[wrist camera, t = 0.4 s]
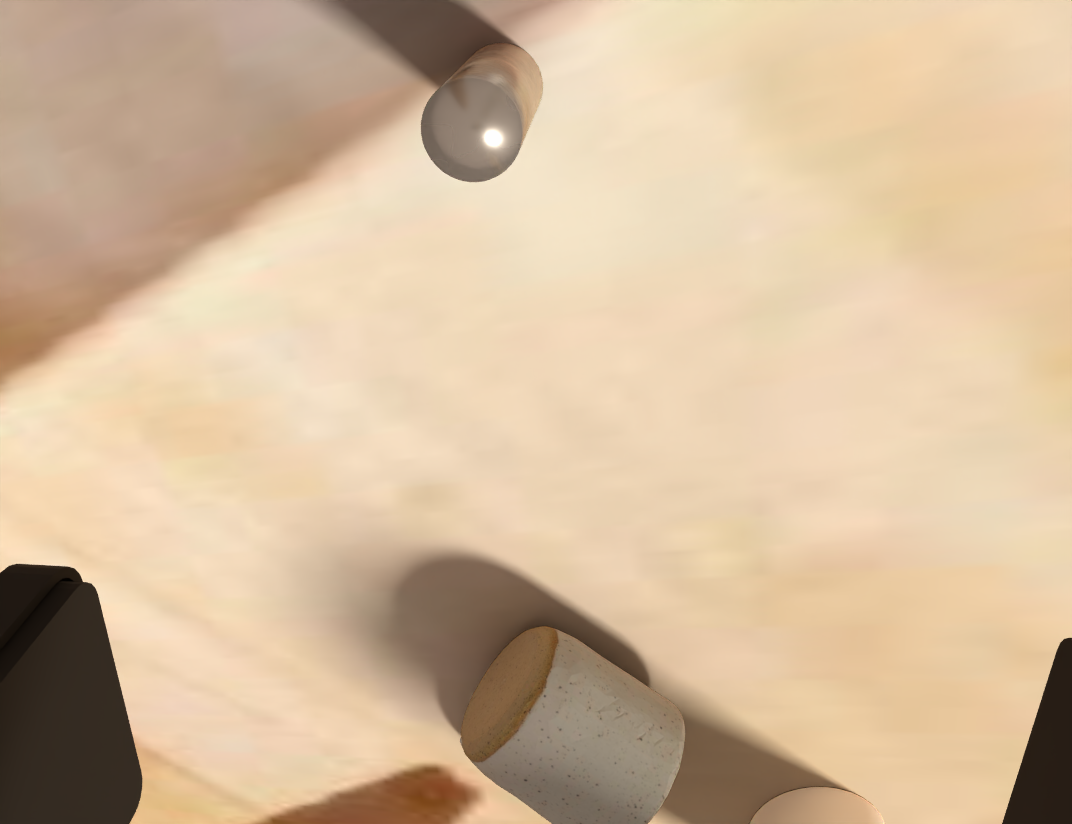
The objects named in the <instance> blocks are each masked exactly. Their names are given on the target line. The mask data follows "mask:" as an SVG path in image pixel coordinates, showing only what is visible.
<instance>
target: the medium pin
mask: <svg viewBox="0 0 1072 824" xmlns="http://www.w3.org/2000/svg"><path fill="white" fill-rule="evenodd" d="M542 92H543V81H542V76H541V72H540V70H539V67H538V65H537V64H536V62H535V61H534V59H533V58H532V57H531V56H530V55H529V54H528V53H527V52H526V51H524V50H523V49H521V48H520V47H517V46H515V45H512V44H508V43H494V44H490V45H487V46H485V47H482V48H481V49H479V50H478V51H477V52H475V53H474V54H473V55H472V56H471V57H470V58H469V59H468V60H467V61H466V62H465V63H464V64H463V65H462V66H461V67H460V68H459V69H458V70H457V71H456V72H455V73H454V74H453V75H452V76H451V77H450V78H449V79H448V80H447V81H446V82H445V83H444V84H443V85H442V86H441V87H440V88H439V89H438V90H437V91H436V92H435V93H434V94H433V95H432V96H431V98H430V99H429V101H428V102H427V104H426V106H425V109H424V112H423V115H422V120H421V135H422V140H423V144H424V147H425V149H426V151H427V153H428V155H429V157H430V158H431V160H432V161H433V162H434V164H435V165H436V166H437V167H438V168H439V169H440V170H442V171H443V172H444V173H446V174H448V175H449V176H451V177H453V178H456V179H458V180H462V181H467V182H481V181H486V180H490V179H492V178H494V177H496V176H498V175H500V174H501V173H503V172H504V171H505V170H506V169H507V168H508V167H509V166H510V165H511V164H512V163H513V161H514V160H515V158H516V156H517V154H518V152H519V150H520V148H521V145H522V143H523V141H524V138H525V136H526V134H527V131H528V129H529V127H530V125H531V122H532V120H533V118H534V115H535V113H536V111H537V108H538V106H539V104H540V101H541V98H542Z"/></svg>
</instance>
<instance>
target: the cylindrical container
mask: <svg viewBox="0 0 1072 824" xmlns="http://www.w3.org/2000/svg"><path fill="white" fill-rule="evenodd" d="M750 824H885V822H884V820H883V818H882V816H881V814H880V813H879V811H878V810H877V809H876V808H875V807H874V806H873V805H872V804H871V803H869V802H868V801H867V800H865V799H864V798H862V797H860V796H858V795H856V794H854V793H852V792H848V791H845V790H841V789H836V788H829V787H809V788H802V789H797V790H793V791H789V792H786V793H784V794H781V795H779V796H777V797H775V798H773V799H772V800H770V801H769V802H767V803H766V804H764V805H763V806H762V807H761V808H760V809H759V810H758V811H757V812H756V813H755V815H754V817H753V818H752V820H751V822H750Z"/></svg>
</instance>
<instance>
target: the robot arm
mask: <svg viewBox="0 0 1072 824" xmlns="http://www.w3.org/2000/svg"><path fill="white" fill-rule="evenodd" d="M141 791H142V773H141V768H140V764H139V760H138V756H137V752H136V748H135V744H134V740H133V736H132V732H131V728H130V724H129V720H128V715H127V711H126V707H125V703H124V699H123V695H122V691H121V687H120V683H119V679H118V675H117V671H116V667H115V662H114V658H113V654H112V650H111V646H110V642H109V638H108V634H107V630H106V626H105V622H104V618H103V614H102V609H101V605H100V601H99V597H98V594H97V591H96V589H95V587H94V586H93V585H92V584H90V583H87V582H83V581H82V578H81V576H80V574H79V573H78V572H77V571H76V570H75V569H74V568H71V567H65V566H47V565H29V564H15V565H11V566H8V567H7V568H6V569H5V570H3V571H2V572H1V573H0V824H129V823H130V821H131V820H132V818H133V816H134V814H135V812H136V809H137V807H138V804H139V801H140V797H141ZM1002 824H1072V638H1066V639H1064V640H1063V641H1062V642H1061V643H1060V645H1059V647H1058V649H1057V652H1056V655H1055V658H1054V662H1053V665H1052V668H1051V671H1050V674H1049V677H1048V681H1047V684H1046V687H1045V690H1044V693H1043V696H1042V700H1041V703H1040V706H1039V709H1038V712H1037V715H1036V718H1035V722H1034V725H1033V728H1032V731H1031V734H1030V737H1029V741H1028V744H1027V747H1026V750H1025V753H1024V756H1023V760H1022V763H1021V766H1020V769H1019V772H1018V775H1017V779H1016V782H1015V785H1014V788H1013V791H1012V794H1011V797H1010V801H1009V804H1008V807H1007V810H1006V813H1005V816H1004V820H1003V823H1002Z"/></svg>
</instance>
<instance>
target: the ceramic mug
mask: <svg viewBox="0 0 1072 824" xmlns="http://www.w3.org/2000/svg"><path fill="white" fill-rule="evenodd" d="M460 742H461V745H462V748H463V750H464V752H465V754H466V756H467V757H468V758H469V759H470V760H471V762H472V763H473V764H474V765H475V766H476V767H477V768H478V769H479V770H480V771H481V772H482V773H483V774H484V775H485V776H487V777H488V778H489V779H491V780H492V781H493V782H494V783H496V784H497V785H498V786H500V787H501V788H503V789H505V790H506V791H508V792H509V793H511V794H512V795H514V796H515V797H517V798H518V799H520V800H521V801H522V802H524V803H525V804H526V805H528V806H529V807H530V808H532V809H533V810H534V811H536V812H537V813H538V814H540V815H541V816H542V817H544V818H545V819H546V820H548V821H549V822H551V823H552V824H648V823H649V822H650V820H651V819H652V818H653V817H654V815H655V814H656V813H657V811H658V810H659V809H660V808H661V806H662V804H663V803H664V801H665V799H666V797H667V796H668V794H669V792H670V789H671V787H672V784H673V782H674V780H675V778H676V776H677V773H678V771H679V768H680V764H681V759H682V755H683V749H684V742H685V725H684V721H683V718H682V715H681V713H680V711H679V710H678V708H677V707H676V706H675V705H674V704H673V703H672V702H671V701H669V700H668V699H666V698H664V697H663V696H661V695H659V694H658V693H656V692H655V691H653V690H652V689H650V688H649V687H647V686H646V685H645V684H643V683H642V682H640V681H639V680H637V679H636V678H634V677H633V676H631V675H630V674H628V673H626V672H625V671H623V670H622V669H620V668H619V667H617V666H616V665H614V664H613V663H611V662H610V661H608V660H606V659H605V658H603V657H602V656H600V655H599V654H598V653H596V652H595V651H593V650H592V649H591V648H589V647H588V646H586V645H585V644H583V643H582V642H580V641H579V640H577V639H576V638H574V637H572V636H570V635H568V634H566V633H564V632H561V631H559V630H557V629H554V628H551V627H547V626H541V627H536V628H532V629H529V630H527V631H524V632H523V633H521V634H520V635H519V636H517V637H516V638H515V639H513V640H512V641H511V642H510V643H509V644H508V645H507V646H506V647H505V648H504V649H503V650H502V652H501V653H500V654H499V655H498V657H497V658H496V659H495V660H494V661H493V663H492V664H491V666H490V667H489V669H488V670H487V672H486V673H485V675H484V676H483V678H482V680H481V681H480V683H479V685H478V686H477V688H476V690H475V692H474V694H473V696H472V698H471V700H470V703H469V705H468V707H467V710H466V712H465V716H464V719H463V723H462V729H461V739H460Z"/></svg>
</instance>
